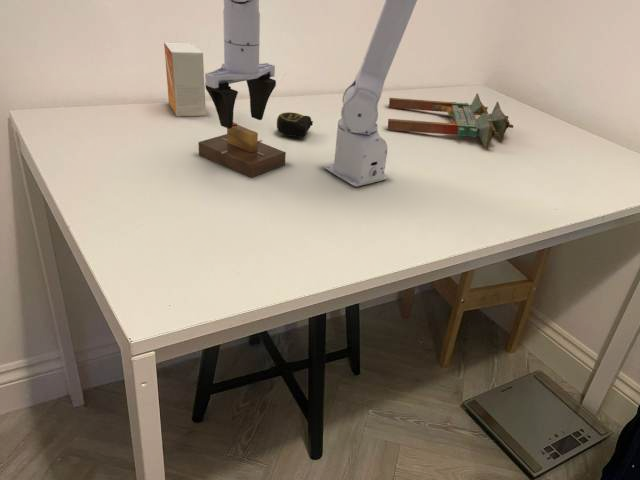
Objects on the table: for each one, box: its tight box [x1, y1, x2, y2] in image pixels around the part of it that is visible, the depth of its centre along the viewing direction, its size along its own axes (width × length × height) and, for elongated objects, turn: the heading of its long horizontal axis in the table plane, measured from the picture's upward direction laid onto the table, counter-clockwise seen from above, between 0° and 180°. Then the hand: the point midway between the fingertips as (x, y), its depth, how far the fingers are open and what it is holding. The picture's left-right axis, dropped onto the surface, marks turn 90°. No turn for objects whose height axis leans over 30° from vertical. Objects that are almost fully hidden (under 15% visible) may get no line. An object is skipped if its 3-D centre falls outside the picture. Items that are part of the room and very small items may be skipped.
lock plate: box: [198, 133, 287, 178], centre depth 103 cm, size 13×10×3 cm
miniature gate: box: [387, 93, 514, 151], centre depth 137 cm, size 27×6×30 cm
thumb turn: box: [226, 121, 259, 153], centre depth 101 cm, size 6×2×4 cm, turn 58°
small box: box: [163, 41, 207, 117], centre depth 118 cm, size 8×6×13 cm
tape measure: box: [276, 111, 314, 138], centre depth 118 cm, size 7×7×4 cm
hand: (242, 122), depth 100 cm, fingers open, 7 cm apart
